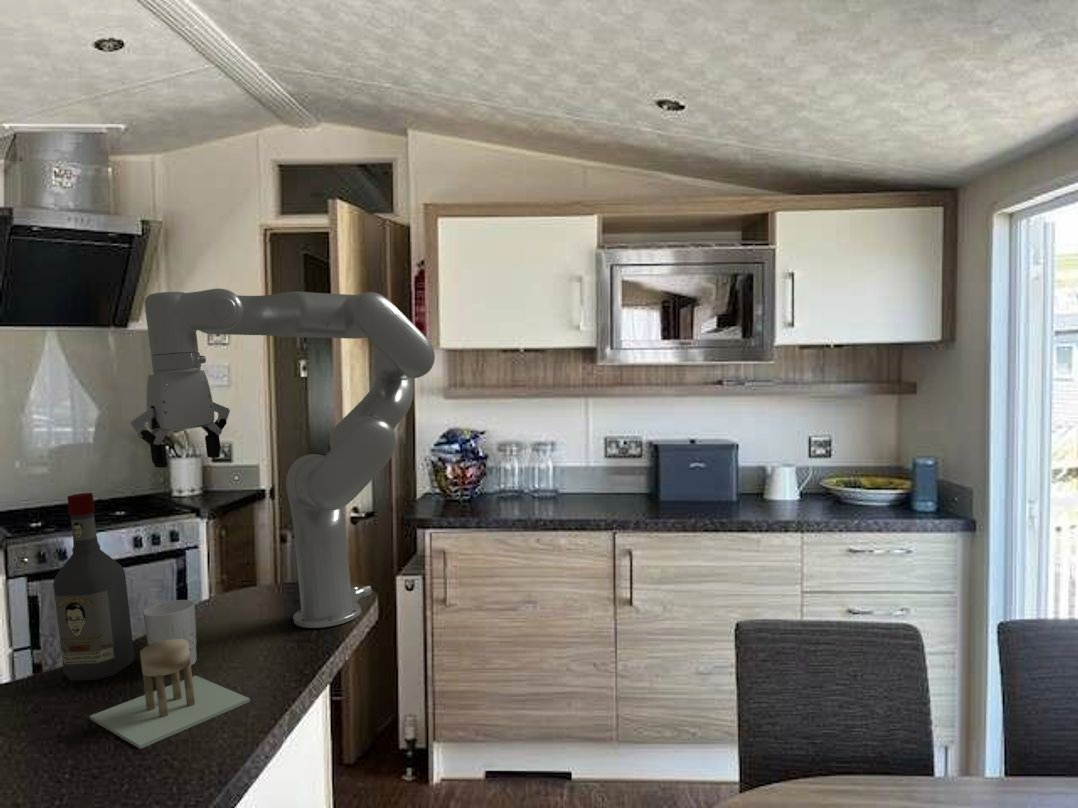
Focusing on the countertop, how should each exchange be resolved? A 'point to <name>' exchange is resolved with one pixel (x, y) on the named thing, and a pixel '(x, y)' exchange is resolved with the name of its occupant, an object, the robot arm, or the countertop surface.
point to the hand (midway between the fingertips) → (188, 462)
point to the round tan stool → (166, 672)
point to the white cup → (172, 623)
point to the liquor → (91, 603)
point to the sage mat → (151, 728)
